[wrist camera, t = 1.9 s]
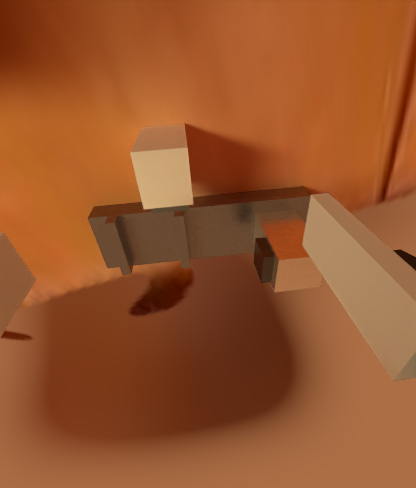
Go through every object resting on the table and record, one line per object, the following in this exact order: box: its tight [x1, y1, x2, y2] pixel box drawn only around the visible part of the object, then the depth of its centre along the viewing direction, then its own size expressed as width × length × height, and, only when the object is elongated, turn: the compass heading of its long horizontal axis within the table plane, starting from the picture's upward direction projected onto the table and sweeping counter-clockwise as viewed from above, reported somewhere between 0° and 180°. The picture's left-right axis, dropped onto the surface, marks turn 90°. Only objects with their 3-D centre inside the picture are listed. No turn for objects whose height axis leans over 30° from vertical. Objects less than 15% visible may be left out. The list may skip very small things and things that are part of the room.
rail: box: [88, 186, 323, 292], centre depth 27 cm, size 24×7×10 cm, turn 93°
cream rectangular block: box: [130, 123, 193, 214], centre depth 23 cm, size 6×4×8 cm
